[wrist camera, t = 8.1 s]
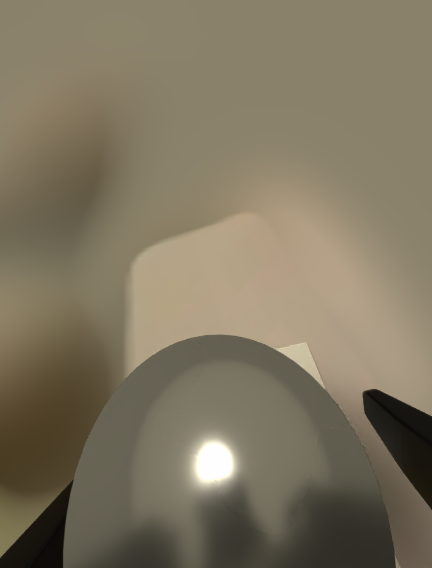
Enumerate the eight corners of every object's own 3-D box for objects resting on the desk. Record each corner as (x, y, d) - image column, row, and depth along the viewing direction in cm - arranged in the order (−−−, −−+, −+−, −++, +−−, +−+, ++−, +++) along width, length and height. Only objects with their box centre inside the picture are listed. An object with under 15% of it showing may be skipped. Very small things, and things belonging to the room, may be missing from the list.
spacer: (290, 453, 13) (523, 800, 2) (221, 468, 13) (20, 866, 2) (267, 377, 15) (301, 310, 4) (209, 391, 15) (86, 363, 4)
